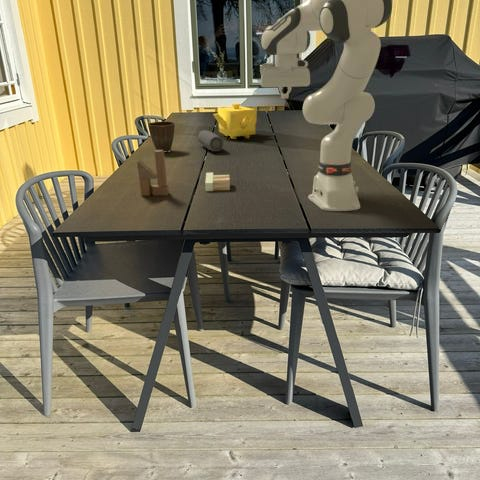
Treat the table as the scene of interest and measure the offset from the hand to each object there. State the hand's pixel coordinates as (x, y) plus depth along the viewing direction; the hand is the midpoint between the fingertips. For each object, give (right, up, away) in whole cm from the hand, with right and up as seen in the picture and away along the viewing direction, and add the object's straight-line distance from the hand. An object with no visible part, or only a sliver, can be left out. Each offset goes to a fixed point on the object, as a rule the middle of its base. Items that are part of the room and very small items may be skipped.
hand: (284, 98), depth 179 cm
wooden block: (-53, -41, -4) cm, 67 cm away
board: (-32, -36, +6) cm, 48 cm away
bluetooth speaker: (-36, -7, +71) cm, 80 cm away
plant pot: (-63, -8, +69) cm, 94 cm away
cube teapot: (-21, +8, +103) cm, 105 cm away
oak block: (-27, -37, +3) cm, 46 cm away
